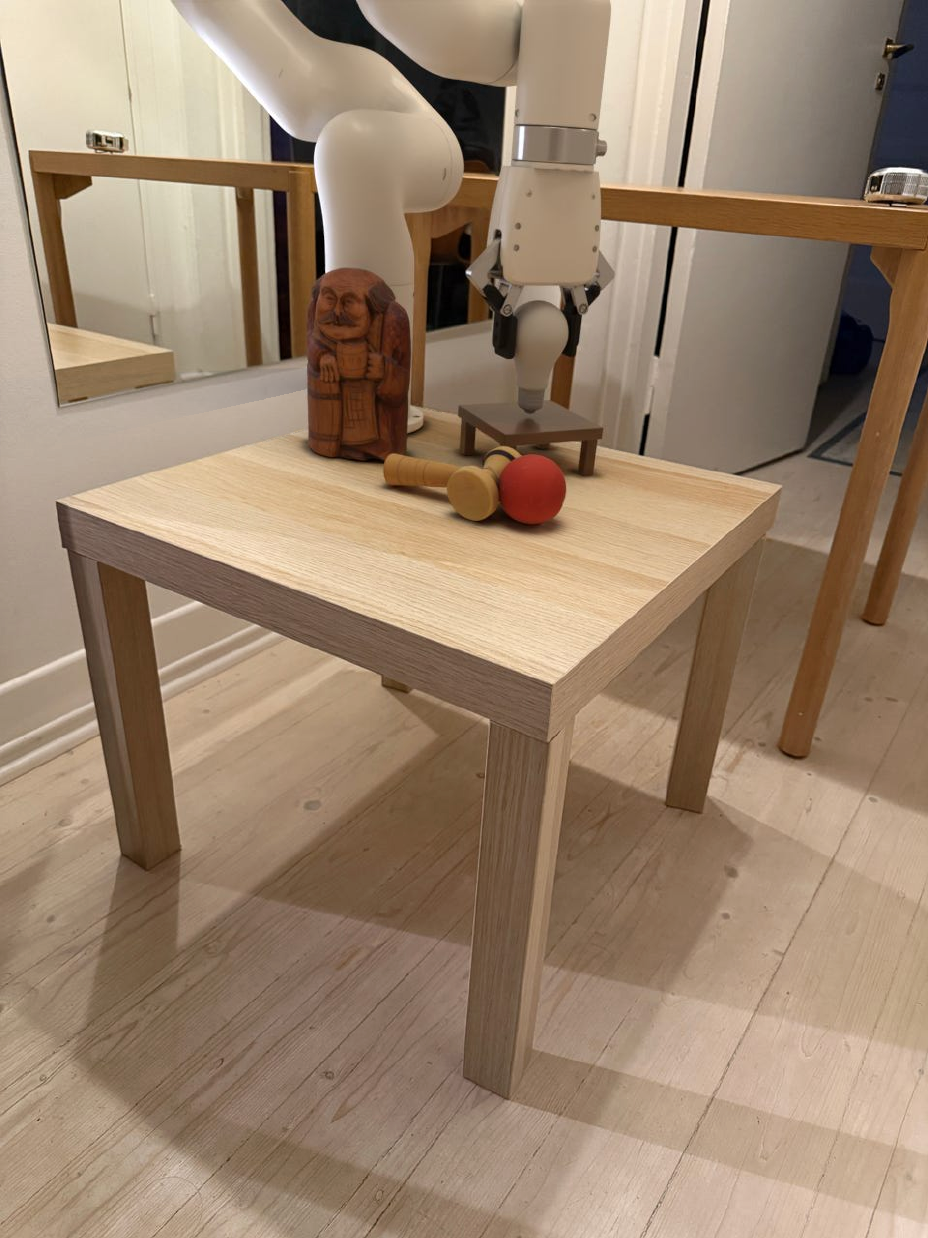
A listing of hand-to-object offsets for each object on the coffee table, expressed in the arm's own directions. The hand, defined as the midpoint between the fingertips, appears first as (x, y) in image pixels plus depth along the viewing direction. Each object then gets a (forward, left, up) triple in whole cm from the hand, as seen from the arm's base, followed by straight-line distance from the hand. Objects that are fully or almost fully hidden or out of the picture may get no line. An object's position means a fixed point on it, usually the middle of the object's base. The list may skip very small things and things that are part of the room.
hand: (535, 353), depth 90 cm
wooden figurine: (-8, -16, -11) cm, 21 cm away
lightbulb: (0, 0, -6) cm, 6 cm away
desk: (0, 0, -11) cm, 11 cm away
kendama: (+10, -11, -11) cm, 19 cm away
